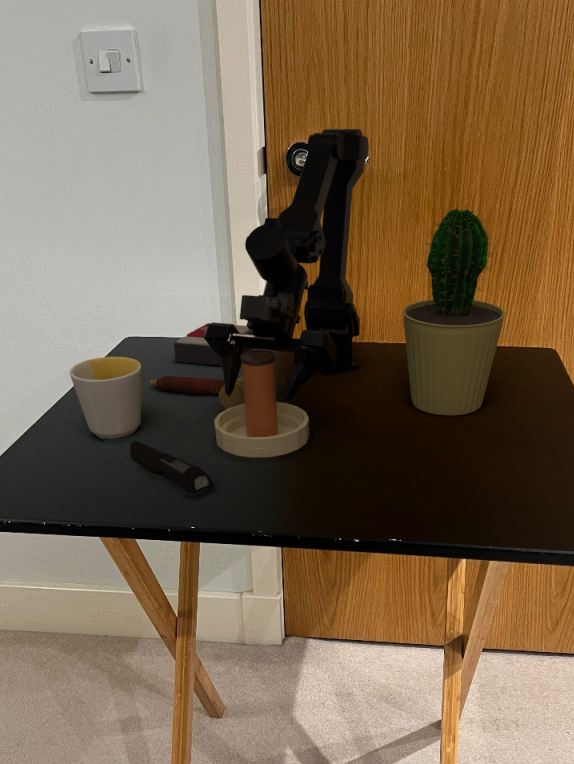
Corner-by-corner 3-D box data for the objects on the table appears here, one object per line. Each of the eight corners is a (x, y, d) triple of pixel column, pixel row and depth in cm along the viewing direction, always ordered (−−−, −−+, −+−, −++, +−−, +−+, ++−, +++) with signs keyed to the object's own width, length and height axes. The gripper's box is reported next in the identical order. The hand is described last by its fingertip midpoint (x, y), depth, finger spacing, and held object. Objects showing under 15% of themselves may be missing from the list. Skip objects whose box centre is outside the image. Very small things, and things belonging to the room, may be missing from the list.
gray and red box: (256, 324, 151) (226, 343, 139) (257, 346, 153) (227, 366, 140) (206, 321, 154) (172, 339, 142) (208, 342, 156) (174, 361, 144)
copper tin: (269, 428, 115) (265, 347, 108) (284, 439, 111) (281, 356, 105) (240, 435, 112) (234, 353, 106) (255, 447, 109) (250, 363, 103)
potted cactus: (384, 411, 120) (390, 210, 105) (417, 380, 132) (427, 195, 117) (479, 427, 114) (500, 216, 99) (505, 393, 126) (528, 199, 111)
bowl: (280, 415, 120) (279, 395, 118) (326, 446, 110) (326, 424, 108) (201, 435, 114) (199, 413, 113) (241, 470, 104) (240, 447, 102)
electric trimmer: (147, 455, 109) (144, 435, 108) (215, 488, 100) (213, 466, 98) (125, 464, 107) (122, 443, 106) (192, 498, 97) (190, 476, 96)
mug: (120, 452, 110) (109, 383, 105) (67, 439, 114) (54, 373, 109) (176, 418, 120) (169, 354, 115) (126, 408, 125) (116, 346, 119)
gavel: (131, 379, 127) (163, 360, 135) (136, 405, 129) (168, 385, 137) (241, 386, 119) (269, 366, 126) (245, 413, 121) (272, 392, 129)
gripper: (203, 265, 106) (174, 366, 103) (329, 272, 100) (303, 379, 97) (230, 307, 116) (205, 400, 113) (347, 315, 111) (324, 414, 107)
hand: (256, 398), depth 107 cm, fingers open, 9 cm apart
